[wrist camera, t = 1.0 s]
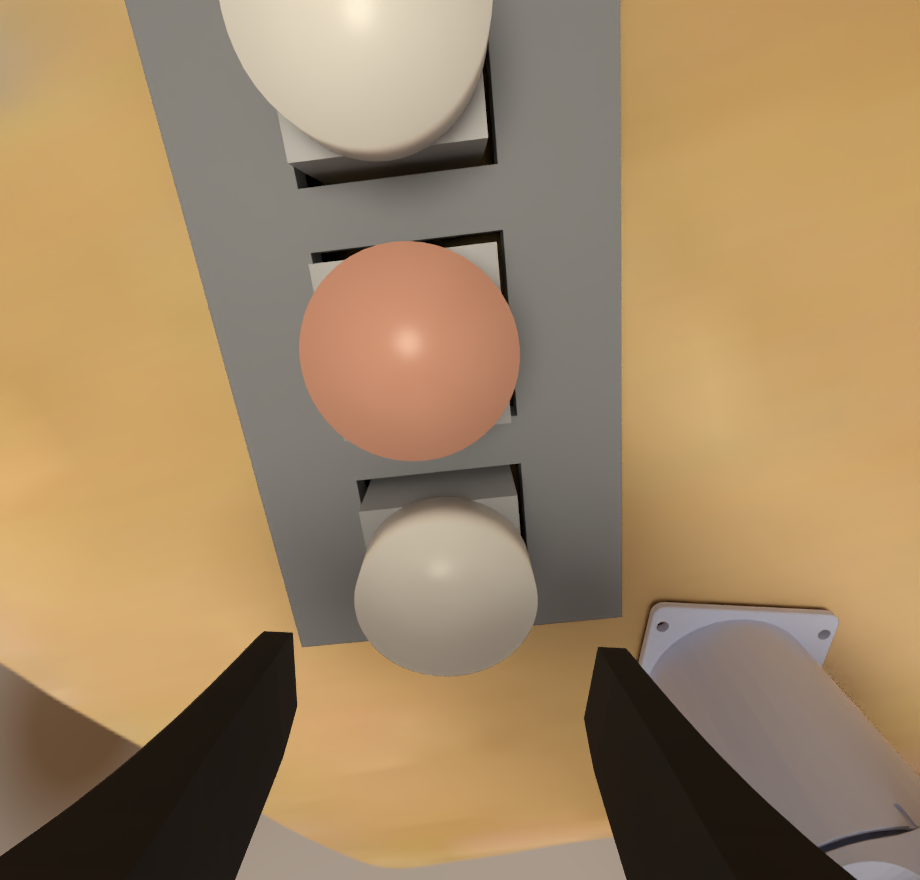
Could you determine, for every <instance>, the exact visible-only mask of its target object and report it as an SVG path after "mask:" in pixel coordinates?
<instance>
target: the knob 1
mask: <svg viewBox="0 0 920 880" xmlns="http://www.w3.org/2000/svg"><path fill="white" fill-rule="evenodd" d="M219 1H220V7H221V11H222V15H223V19H224V22H225V26H226V30H227V32H228V35H229V37H230V40H231V43H232V45H233V48H234V50H235V52H236V54H237V56H238V58H239V60H240V62H241V64H242V66H243V68H244V70H245V71H246V73H247V74H248V76H249V77H250V79H251V80H252V82H253V83H254V85H255V86H256V88H257V89H258V90H259V91H260V92H261V94H262V95H263V96H264V97H265V98H266V100H267V101H268V102H269V103H270V104H271V105H272V106H273V107H274V108H275V109H276V110H277V113H278V118H279V123H280V128H281V133H282V138H283V143H284V148H285V152H286V157H287V162H288V164H290V165H292V166H293V167H295V168H297V169H299V170H301V171H302V172H304V173H306V174H308V175H309V176H311V177H313V178H315V179H316V180H318V181H320V182H322V183H324V184H325V185H334V184H342V183H350V182H358V181H366V180H374V179H382V178H390V177H398V176H406V175H414V174H422V173H429V172H437V171H445V170H453V169H461V168H469V167H477V166H481V164H482V160H483V156H484V152H485V148H486V144H487V140H488V130H487V118H486V105H485V93H484V81H483V66H484V61H485V56H486V51H487V44H488V37H489V30H490V22H491V15H492V3H493V0H219Z"/></svg>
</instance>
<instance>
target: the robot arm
mask: <svg viewBox="0 0 920 880" xmlns="http://www.w3.org/2000/svg"><path fill="white" fill-rule="evenodd" d="M660 622H664V624H662V625H659V626H658V624H659V623H660ZM838 625H839V620H838V618H837V617H836V616H835V615H834V614H833V613H832V612H830V611H828V610H815V609H794V608H774V607H754V606H734V605H713V604H693V603H673V602H660V603H658V604H655V605H654V606H653V607H652V609H651V611H650V615H649V619H648V623H647V628H646V632H645V636H644V641H643V645H642V649H641V653H640V658H639V662H637V661H636V660H635V658H634V657H633V656H632V655H631V654H630V653H629V651H628V650H627V649H626V648H607V647H598V650H597V655H596V660H595V665H594V670H593V675H592V681H591V686H590V691H589V696H588V701H587V706H586V711H585V716H584V720H585V726H586V731H587V737H588V743H589V748H590V753H591V758H592V763H593V768H594V772H595V776H596V779H597V783H598V786H599V789H600V793H601V796H602V800H603V803H604V806H605V810H606V813H607V816H608V820H609V823H610V826H611V830H612V833H613V836H614V840H615V843H616V846H617V849H618V852H619V856H620V859H621V863H622V866H623V869H624V873H625V876H626V879H627V880H920V777H919V776H918V775H917V774H916V772H915V771H914V770H913V769H912V768H911V767H910V766H909V765H908V763H907V762H906V761H905V760H904V759H903V758H902V757H901V756H900V755H899V753H898V752H897V751H896V750H895V749H894V748H893V747H892V746H891V744H890V743H889V742H888V741H887V740H886V739H885V738H884V737H883V735H882V734H881V733H880V732H879V731H878V730H877V729H876V728H875V727H874V725H873V724H872V723H871V722H870V721H869V720H868V719H867V718H866V716H865V715H864V714H863V713H862V712H861V711H860V710H859V709H858V707H857V706H856V705H855V704H854V703H853V702H852V701H851V700H850V698H849V697H848V696H847V695H846V694H845V693H844V692H843V691H842V690H841V688H840V687H839V686H838V685H837V684H836V683H835V682H834V681H833V679H832V678H831V677H830V676H829V675H828V674H827V673H826V672H825V670H824V669H823V668H822V666H823V663H824V661H825V658H826V655H827V653H828V650H829V648H830V645H831V643H832V640H833V638H834V635H835V632H836V630H837V627H838ZM820 631H821V632H820ZM819 632H820V633H819ZM296 708H297V695H296V678H295V662H294V646H293V633H288V632H267V631H264V632H263V633H262V634H260V635H259V636H258V637H257V638H256V639H255V640H254V641H253V642H252V643H251V644H250V645H249V646H248V647H247V648H246V649H245V650H244V651H243V653H242V654H241V655H240V656H239V657H238V658H237V659H236V660H235V661H234V662H233V663H232V664H231V665H230V666H229V667H228V668H227V669H226V670H225V671H224V672H223V673H222V674H221V675H220V676H219V677H218V678H217V679H216V680H215V681H214V682H213V683H212V684H211V685H210V686H209V687H208V688H207V689H206V690H205V691H204V692H202V693H201V694H200V695H199V696H198V697H197V698H196V699H195V700H194V701H193V702H192V703H191V704H190V705H189V706H188V707H187V708H186V709H185V710H184V711H183V712H182V713H181V714H180V715H178V716H177V717H176V718H175V719H174V720H173V721H172V722H171V723H170V724H168V725H167V726H166V727H165V728H164V729H163V730H162V731H161V732H160V733H158V734H157V735H156V736H155V737H154V738H153V739H152V740H151V741H149V742H148V743H147V744H146V745H145V746H144V747H143V748H142V749H140V750H139V751H138V752H137V753H136V754H135V755H133V756H132V757H131V758H130V759H129V760H128V761H126V762H125V763H124V764H123V765H122V766H121V767H119V768H118V769H117V770H116V771H114V772H113V773H112V774H111V775H109V776H108V777H107V778H106V779H105V780H103V781H102V782H101V783H99V784H98V785H97V786H96V787H94V788H93V789H92V790H91V791H89V792H88V793H87V794H85V795H84V796H83V797H82V798H80V799H79V800H78V801H77V802H75V803H74V804H73V805H71V806H70V807H68V808H67V809H66V810H64V811H63V812H62V813H60V814H59V815H58V816H56V817H55V818H54V819H52V820H51V821H49V822H48V823H47V824H45V825H44V826H42V827H41V828H40V829H38V830H37V831H36V832H34V833H33V834H31V835H30V836H29V837H27V838H26V839H24V840H23V841H21V842H20V843H18V844H17V845H16V846H14V847H13V848H11V849H10V850H9V851H7V852H6V853H4V854H3V855H2V856H0V880H235V878H236V876H237V873H238V871H239V868H240V866H241V863H242V861H243V858H244V856H245V853H246V850H247V848H248V846H249V843H250V840H251V838H252V835H253V833H254V830H255V828H256V825H257V823H258V820H259V818H260V815H261V813H262V810H263V807H264V805H265V802H266V800H267V797H268V795H269V792H270V790H271V787H272V784H273V782H274V779H275V777H276V774H277V772H278V769H279V766H280V764H281V761H282V758H283V755H284V752H285V748H286V745H287V741H288V738H289V734H290V731H291V727H292V723H293V720H294V716H295V712H296Z"/></svg>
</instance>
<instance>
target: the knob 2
mask: <svg viewBox="0 0 920 880" xmlns="http://www.w3.org/2000/svg"><path fill="white" fill-rule="evenodd" d="M359 516H360V521H361V526H362V531H363V536H364V541H365V545H366V550H367V551H366V554H365V557H364V560H363V563H362V567H361V570H360V573H359V576H358V579H357V583H356V588H355V593H354V606H355V613H356V616H357V620H358V623H359V625H360V627H361V629H362V631H363V633H364V635H365V636H366V638H367V639H368V641H369V642H370V643H371V644H372V645H373V646H374V648H375V649H376V650H377V651H379V652H380V653H381V654H382V655H383V656H385V657H386V658H387V659H389V660H390V661H392V662H394V663H396V664H397V665H399V666H401V667H403V668H406V669H409V670H411V671H414V672H418V673H422V674H427V675H433V676H460V675H467V674H471V673H475V672H479V671H482V670H484V669H487V668H490V667H492V666H493V665H495V664H497V663H499V662H501V661H502V660H504V659H505V658H507V657H508V656H509V655H511V654H512V653H513V652H514V651H515V650H516V649H517V648H518V647H519V646H520V645H521V644H522V643H523V641H524V640H525V638H526V637H527V636H528V634H529V632H530V630H531V628H532V626H533V623H534V620H535V617H536V613H537V607H538V595H537V588H536V583H535V579H534V575H533V571H532V567H531V562H530V558H529V554H528V551H527V548H526V545H525V543H524V541H523V539H522V537H521V534H520V522H519V509H518V497H517V492H516V488H515V484H514V480H513V476H512V472H511V468H510V464H509V465H499V466H490V467H480V468H471V469H461V470H452V471H442V472H433V473H423V474H414V475H405V476H395V477H386V478H376V479H371V481H370V484H369V487H368V489H367V492H366V494H365V497H364V499H363V502H362V505H361V507H360V510H359Z"/></svg>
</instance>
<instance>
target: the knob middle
mask: <svg viewBox="0 0 920 880" xmlns="http://www.w3.org/2000/svg"><path fill="white" fill-rule="evenodd" d="M308 265H309V270H310V275H311V280H312V285H313V290H314V294H313V296H312V298H311V299H310V301H309V304H308V306H307V309H306V311H305V314H304V317H303V321H302V325H301V330H300V339H299V358H300V364H301V370H302V374H303V378H304V381H305V385H306V387H307V390H308V392H309V394H310V397H311V399H312V400H313V402H314V404H315V406H316V407H317V409H318V411H319V412H320V413H321V415H322V416H323V417H324V418H325V420H326V421H327V422H328V423H329V424H330V425H331V426H332V427H333V428H334V429H335V430H336V431H337V432H338V433H339V434H340V435H342V436H343V438H344V441H349V442H351V443H353V444H354V445H356V446H358V447H359V448H361V449H363V450H365V451H368V452H370V453H372V454H375V455H378V456H381V457H384V458H389V459H394V460H400V461H427V460H432V459H438V458H442V457H445V456H448V455H451V454H454V453H456V452H458V451H460V450H463V449H464V448H466V447H468V446H469V445H471V444H473V443H474V442H476V441H477V440H478V439H480V438H481V437H482V436H483V435H485V434H486V433H487V432H488V431H489V430H490V429H491V428H492V427H493V426H494V425H496V424H505V423H511V412H510V399H511V397H512V394H513V392H514V389H515V386H516V382H517V378H518V373H519V365H520V345H519V337H518V331H517V328H516V324H515V320H514V317H513V315H512V313H511V310H510V308H509V305H508V303H507V302H506V300H505V298H504V297H503V295H502V293H501V289H500V276H499V264H498V252H497V242H490V243H482V244H473V245H465V246H457V247H449V248H443V247H440V246H437V245H433V244H428V243H424V242H414V241H398V242H389V243H384V244H379V245H375V246H372V247H370V248H367V249H364V250H362V251H360V252H358V253H356V254H354V255H352V256H350V257H348V258H347V259H346V260H341V261H332V262H324V263H316V264H308Z"/></svg>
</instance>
